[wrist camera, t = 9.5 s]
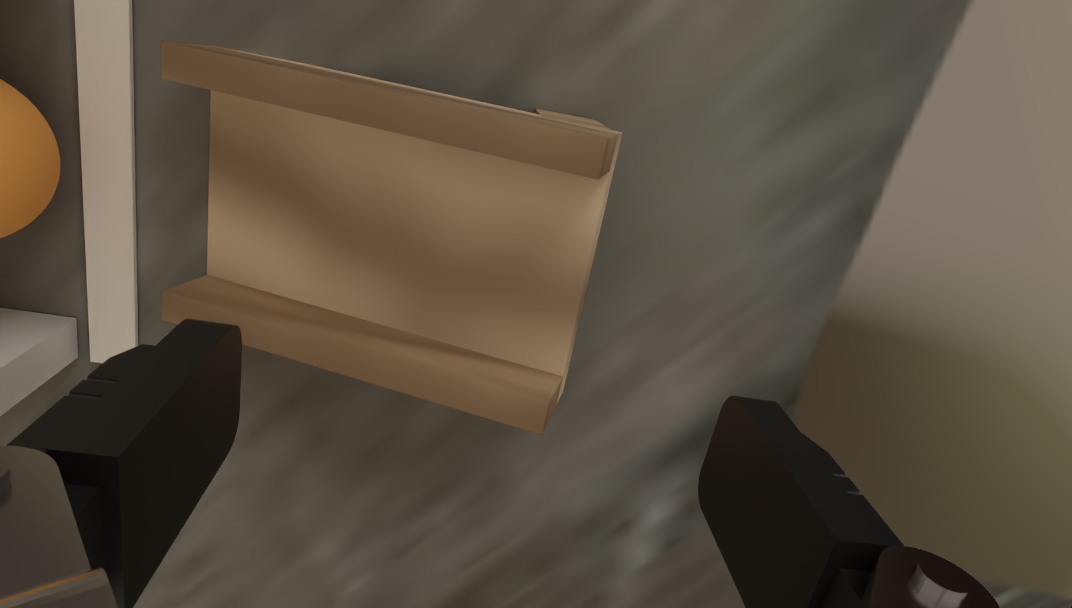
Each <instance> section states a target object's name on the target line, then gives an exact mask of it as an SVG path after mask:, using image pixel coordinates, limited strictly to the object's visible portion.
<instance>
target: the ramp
mask: <svg viewBox="0 0 1072 608" xmlns="http://www.w3.org/2000/svg"><path fill="white" fill-rule="evenodd" d="M161 79H165V80H169V81H174V82H178V83H182V84H187V85H191V86H195V87H200V88H204V89H208V90H211V99H210V148H209V196H208V245H207V275H205V276H202V277H199V278H196V279H194V280H191V281H188V282H185V283H183V284H180V285H177V286H174V287H171V288H169V289H166V290H163V291H162V320H164V321H167V322H170V323H174V324H177V325H179V324H180V323H181V322H182V321H183V320H184V319H187V318H188V319H196V320H203V321H210V322H217V323H224V324H231V325H237V326H239V328H240V330H241V335H242V344H243V345H246V346H249V347H253V348H256V349H259V350H263V351H266V352H269V353H272V354H276V355H279V356H282V357H286V358H289V359H292V360H296V361H299V362H302V363H305V364H309V365H312V366H315V367H319V368H322V369H325V370H329V371H332V372H335V373H338V374H342V375H345V376H348V377H352V378H355V379H358V380H361V381H365V382H368V383H371V384H375V385H378V386H381V387H385V388H388V389H391V390H394V391H398V392H401V393H404V394H408V395H411V396H414V397H417V398H421V399H424V400H427V401H431V402H434V403H437V404H441V405H444V406H447V407H450V408H454V409H457V410H460V411H464V412H467V413H470V414H474V415H477V416H480V417H483V418H487V419H490V420H493V421H497V422H500V423H503V424H506V425H510V426H513V427H516V428H520V429H523V430H526V431H530V432H533V433H536V434H539V435H542V433H543V431H544V429H545V427H546V425H547V423H548V421H549V419H550V417H551V415H552V413H553V411H554V409H555V407H556V405H557V403H558V401H559V399H560V397H561V395H562V393H563V390H564V385H565V381H566V377H567V372H568V368H569V364H570V359H571V355H572V350H573V346H574V342H575V337H576V333H577V329H578V324H579V320H580V316H581V311H582V307H583V302H584V298H585V294H586V289H587V285H588V281H589V276H590V272H591V268H592V263H593V259H594V255H595V250H596V246H597V241H598V237H599V233H600V228H601V224H602V220H603V215H604V211H605V207H606V202H607V198H608V193H609V189H610V185H611V180H612V176H613V172H614V167H615V163H616V159H617V154H618V150H619V145H620V141H621V137H622V132H617V131H613V130H610V129H609V128H607V127H606V126H604V125H603V124H601V123H600V122H598V121H596V120H594V119H589V118H584V117H578V116H573V115H568V114H563V113H558V112H552V111H547V110H542V109H537V108H535V113H530V112H526V111H521V110H516V109H512V108H507V107H503V106H498V105H493V104H489V103H484V102H480V101H475V100H471V99H466V98H461V97H457V96H452V95H448V94H443V93H438V92H434V91H429V90H425V89H420V88H415V87H411V86H406V85H402V84H397V83H393V82H388V81H383V80H379V79H374V78H370V77H365V76H360V75H356V74H351V73H347V72H342V71H338V70H333V69H328V68H324V67H319V66H315V65H310V64H304V63H299V62H294V61H289V60H284V59H278V58H273V57H268V56H263V55H258V54H253V53H247V52H242V51H237V50H232V49H227V48H221V47H216V46H209V45H199V44H188V43H178V42H168V41H161Z"/></svg>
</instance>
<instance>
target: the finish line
mask: <svg viewBox="0 0 1072 608" xmlns="http://www.w3.org/2000/svg"><path fill="white" fill-rule="evenodd" d="M74 9H75V32H76V54H77V76H78V98H79V120H80V142H81V165H82V187H83V209H84V231H85V253H86V276H87V298H88V320H89V342H90V362H98V363H104V362H105V361H106V360H107V359H109V358H110V357H113V356H115V355H117V354H120V353H122V352H125V351H127V350H130V349H132V348H134V347H137V346H138V304H137V247H136V190H135V133H134V76H133V19H132V0H74Z"/></svg>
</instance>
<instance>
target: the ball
mask: <svg viewBox="0 0 1072 608" xmlns="http://www.w3.org/2000/svg"><path fill="white" fill-rule="evenodd" d="M59 177H60V154H59V149H58V145H57V142H56V139H55V137H54V134H53V132H52V130H51V128H50V126H49V124H48V123H47V121H46V120H45V118H44V117H43V115H42V114H41V113H40V111H39V110H38V109H37V108H36V107H35V106H34V105H33V104H32V103H31V102H30V101H29V100H28V99H27V98H26V97H25V96H24V95H23V94H21V93H20V92H19V91H17V90H16V89H15V88H14V87H12V86H11V85H9V84H8V83H6V82H4V81H3V80H1V79H0V238H3V237H6V236H8V235H10V234H12V233H14V232H16V231H18V230H20V229H22V228H23V227H25V226H26V225H28V224H29V223H31V222H32V221H33V220H35V219H36V218H37V217H38V216H39V215H40V214H41V213H42V212H43V210H44V209H45V208H46V207H47V205H48V204H49V202H50V201H51V199H52V197H53V195H54V193H55V191H56V188H57V185H58V181H59Z"/></svg>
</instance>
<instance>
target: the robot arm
mask: <svg viewBox="0 0 1072 608" xmlns="http://www.w3.org/2000/svg"><path fill="white" fill-rule="evenodd" d="M241 354H242V335H241V330H240V328H239V326H237V325H231V324H224V323H217V322H210V321H203V320H196V319H188V318H187V319H184V320H183V321H182V322H181V323H180V324H179V325H177V326H176V327H175V328H174V329H173V330H172V331H171V332H170V333H169V334H168V335H167V336H166V337H165V338H164V339H162V340H161V341H160V342H159V343H158V344H157V345H156V346H153V345H145V344H142V345H139V346H137V347H134V348H132V349H130V350H127V351H125V352H122V353H120V354H117V355H115V356H113V357H110V358H109V359H107V360H106V361H105V362H104V363H103V364H102V365H100V366H99V367H98V368H97V369H96V370H95V371H93V372H92V373H91V374H90V375H89V376H88V379H87V380H83V381H82V382H80V383H79V384H78V385H77V386H76V387H75V388H73V389H72V390H71V391H70V393H69V396H64V397H63V398H62V399H61V400H59V401H58V402H57V403H56V404H55V405H53V406H52V407H51V408H50V409H49V410H48V411H46V412H45V413H44V414H43V415H42V416H41V417H39V418H38V419H37V420H36V421H35V422H34V423H32V424H31V425H30V426H29V427H28V428H27V429H25V430H24V431H23V432H22V433H21V434H19V435H18V436H17V437H16V438H15V439H14V440H12V441H11V442H10V443H9V444H8V445H7V446H0V608H133V607H134V605H135V603H136V602H137V600H138V598H139V597H140V595H141V594H142V592H143V590H144V589H145V587H146V586H147V584H148V582H149V581H150V579H151V577H152V576H153V574H154V573H155V571H156V569H157V568H158V566H159V565H160V563H161V561H162V560H163V558H164V557H165V555H166V553H167V552H168V550H169V548H170V547H171V545H172V544H173V542H174V540H175V539H176V537H177V536H178V534H179V532H180V531H181V529H182V527H183V526H184V524H185V523H186V521H187V519H188V518H189V516H190V515H191V513H192V511H193V510H194V508H195V506H196V505H197V503H198V502H199V500H200V498H201V497H202V495H203V494H204V492H205V490H206V489H207V487H208V486H209V484H210V482H211V481H212V479H213V477H214V476H215V474H216V473H217V471H218V469H219V468H220V466H221V465H222V463H223V461H224V460H225V458H226V456H227V455H228V453H229V451H230V449H231V447H232V444H233V442H234V439H235V435H236V431H237V427H238V421H239V412H240V383H241ZM698 495H699V503H700V507H701V509H702V512H703V514H704V516H705V518H706V521H707V523H708V525H709V527H710V530H711V532H712V534H713V536H714V538H715V541H716V543H717V545H718V547H719V549H720V552H721V554H722V556H723V558H724V561H725V563H726V565H727V567H728V569H729V572H730V574H731V576H732V578H733V580H734V583H735V585H736V587H737V589H738V592H739V594H740V596H741V598H742V600H743V603H744V605H745V607H746V608H1000V607H999V605H998V603H997V601H996V600H995V598H994V597H993V596H992V594H991V593H990V592H989V591H988V590H987V589H986V588H985V587H984V586H983V585H982V584H981V583H980V582H979V581H978V580H977V579H975V578H974V577H973V576H972V575H970V574H969V573H968V572H966V571H965V570H963V569H962V568H960V567H959V566H957V565H955V564H954V563H952V562H950V561H948V560H946V559H944V558H942V557H940V556H938V555H936V554H933V553H931V552H928V551H925V550H922V549H918V548H914V547H909V546H904V545H903V544H902V542H901V541H900V540H899V539H898V537H897V536H896V535H895V534H894V533H893V531H892V530H891V529H890V528H889V526H888V525H887V524H886V523H885V522H884V520H883V519H882V518H881V517H880V515H879V514H878V513H877V512H876V511H875V509H874V508H873V507H872V506H871V505H870V503H869V502H868V501H867V500H866V498H865V497H864V496H863V495H859V490H858V488H857V487H856V486H855V485H854V484H853V482H852V481H851V480H850V479H849V478H848V477H845V473H844V471H843V470H842V469H841V468H840V466H839V465H838V464H837V463H836V462H835V460H834V459H833V458H832V457H831V456H830V454H829V453H828V452H826V451H825V450H824V449H823V448H821V447H820V446H818V445H817V444H816V443H814V442H813V441H812V440H810V439H809V438H808V437H806V436H805V435H804V434H802V433H801V432H800V431H799V430H798V428H797V427H796V426H795V425H794V423H793V422H792V421H791V420H790V418H789V417H788V416H787V414H786V413H785V412H784V411H783V409H782V408H781V407H780V406H779V405H778V404H777V403H776V402H774V401H767V400H760V399H753V398H746V397H739V396H730V397H729V398H728V399H727V400H726V401H725V402H724V404H723V406H722V409H721V411H720V414H719V417H718V420H717V423H716V426H715V429H714V432H713V435H712V438H711V441H710V444H709V447H708V450H707V453H706V456H705V459H704V462H703V465H702V468H701V472H700V476H699V484H698ZM1071 608H1072V607H1071Z"/></svg>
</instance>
